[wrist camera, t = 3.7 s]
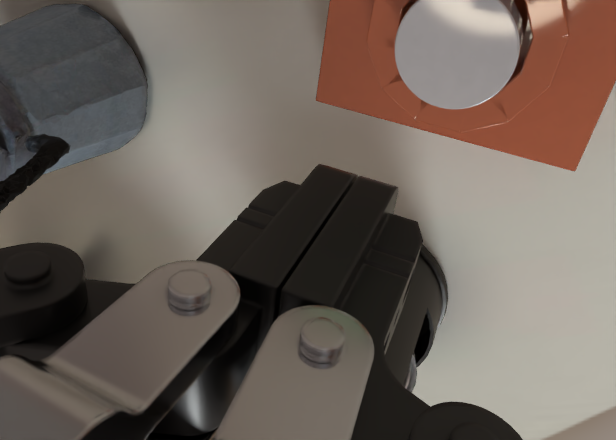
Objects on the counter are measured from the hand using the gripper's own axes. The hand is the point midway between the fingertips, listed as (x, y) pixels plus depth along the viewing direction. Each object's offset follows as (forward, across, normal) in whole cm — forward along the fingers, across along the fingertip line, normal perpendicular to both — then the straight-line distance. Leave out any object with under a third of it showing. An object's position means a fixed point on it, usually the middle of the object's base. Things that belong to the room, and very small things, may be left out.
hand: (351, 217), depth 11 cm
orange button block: (+18, 0, 0) cm, 18 cm away
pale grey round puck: (+14, 0, 0) cm, 14 cm away
